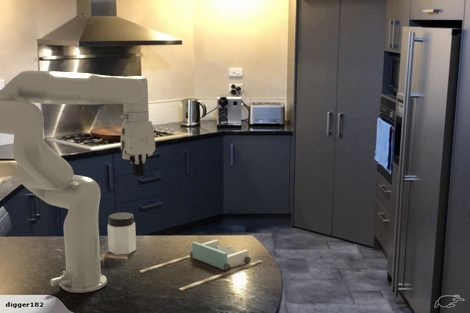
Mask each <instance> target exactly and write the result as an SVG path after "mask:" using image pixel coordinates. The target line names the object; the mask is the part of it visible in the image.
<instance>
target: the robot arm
mask: <svg viewBox="0 0 470 313" xmlns="http://www.w3.org/2000/svg"><path fill="white" fill-rule="evenodd" d="M148 86H149V85H148V79H147V77H146V76H141V75H133V76H132V75H129V76H111V75H100V74H95V73H88V72H87V73H84V72H71V71H67V72H66V71H54V70H23V71H20V72H19V73H18V74H16V75H15V76H14V77H13V78H11V80H10V81H9V82H8V83H6V84H5V86H3V87H2V89H0V134H3V135H4V134H7V135H13V142H12V143H13V144H12V145H13V146H12V147H13V148H12V150H13V151H12V152H13V153H12V154H13V159H14V161H15V162H16V163H17V165H16V168H15V169H16V177H17V178H18V181H19V182H20V183H21V185H22V186H24V187H25V189H27V190H29V191H30V193H33V194H34V195H35V196H36V197H38V198H39V199H40V200H42V201H44V202H45V203H46V204H49V205H51V206H55V207H58V208H63V209H67V210H68V211H67V214H66V217H65V219H64V222H63V236H64V237H63V239H64V256H65V270H63V271H62V274H61V275H60V276H58V277H54V278H51V279H50V281H49V282H50V286H52V287H53V286H57V285H59V286H60V287H61V289H63V290H64V291H66V292H69V293H78V294H79V293H81V294H82V293H89V292H94V291H97V290H99V289H100V290H101V289H102V288H103V287H105V286H106V285H107V283H108V279H107V276H105V275H104V274H102V270H101V267H102V266H101V250H100V249H101V248H100V229H99V228H100V227H99V209H100V202H101V188H100V186H99V183H98V182H97V181H96V180H94V179H92V178H91V177H88V176H83V175H79V174H78V175H77V174H74V169H73V167H72V166H71V165H70V163H69V162H68V161H67V160H66V159H64V158H63V157H62V156H61V155H60V154H59V153H57V152H56V151H55V150H53V149H52V148H51V147H50V146H49V145H48V144H47V142H45V138H44V127H45V119H44V118H45V117H44V115H43V112H42V110H41V108H39V107H38V106H37V105H36V104H44V105H45V104H46V105H103V104H104V105H107V104H109V105H110V104H111V105H112V104H114V105H118V104H119V105H120V104H121V105H123V114H120V119H121V120H123V122H122V123H121V129H120V151H121V153H122V156H121V158H122V159H123V160H128V161H129V162H130V163H131V164H132V173H133V176H134V177H138V178H139V177H140V178H141V177H144V176H145V175H144V174H145V173H144V172H145V168H144V167H145V166H144V165H145V163H146V160H147V159H148V157H150V156H153V154H154V152H155V151H156V140H155V138H156V137H155V131H154V127H153V123H152V120H150V117H149V116H150V113H149V87H148Z"/></svg>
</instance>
